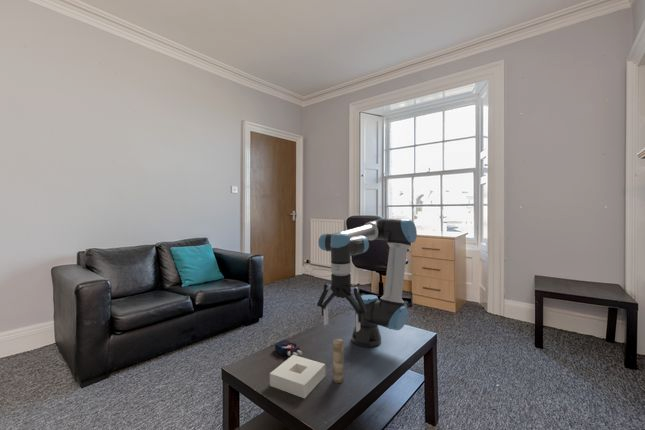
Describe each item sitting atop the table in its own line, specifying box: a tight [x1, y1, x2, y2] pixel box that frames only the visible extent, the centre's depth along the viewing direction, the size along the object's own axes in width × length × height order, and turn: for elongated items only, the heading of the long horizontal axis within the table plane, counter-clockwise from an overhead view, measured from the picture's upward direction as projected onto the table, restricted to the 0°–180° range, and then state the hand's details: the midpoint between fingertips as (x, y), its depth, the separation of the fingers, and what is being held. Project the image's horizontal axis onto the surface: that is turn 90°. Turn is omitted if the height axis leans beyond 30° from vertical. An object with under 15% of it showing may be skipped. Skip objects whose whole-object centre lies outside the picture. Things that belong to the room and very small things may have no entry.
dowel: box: [332, 338, 344, 384], centre depth 117 cm, size 4×4×16 cm
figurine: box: [274, 339, 303, 357], centre depth 139 cm, size 9×4×15 cm
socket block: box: [269, 355, 326, 399], centre depth 117 cm, size 16×16×5 cm
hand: (341, 327), depth 114 cm, fingers open, 13 cm apart
